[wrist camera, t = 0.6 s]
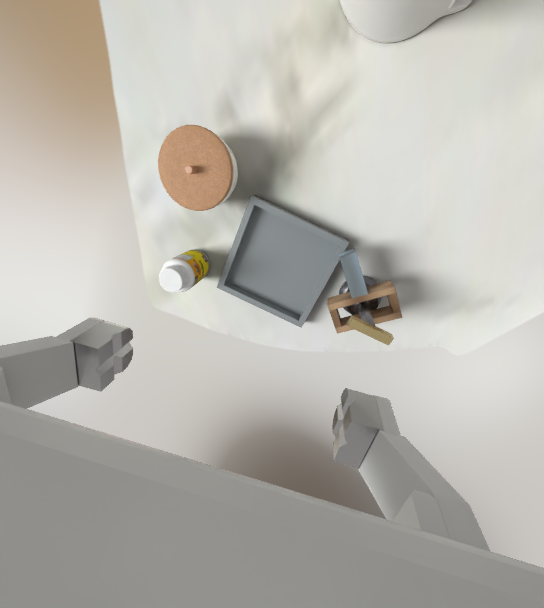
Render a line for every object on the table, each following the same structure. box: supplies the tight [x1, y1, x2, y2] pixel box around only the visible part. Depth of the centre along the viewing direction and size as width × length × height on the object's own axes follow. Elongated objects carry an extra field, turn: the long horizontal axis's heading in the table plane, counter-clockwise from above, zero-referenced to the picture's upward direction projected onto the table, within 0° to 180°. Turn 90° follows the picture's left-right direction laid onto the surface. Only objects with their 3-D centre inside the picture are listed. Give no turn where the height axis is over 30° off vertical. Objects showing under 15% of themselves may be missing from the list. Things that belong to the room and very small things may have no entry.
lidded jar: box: [158, 125, 238, 211], centre depth 41 cm, size 11×11×9 cm
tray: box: [217, 195, 349, 327], centre depth 49 cm, size 17×17×2 cm
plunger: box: [339, 276, 394, 345], centre depth 43 cm, size 7×7×14 cm
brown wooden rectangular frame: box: [327, 249, 402, 333], centre depth 44 cm, size 10×12×3 cm
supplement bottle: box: [159, 250, 210, 292], centre depth 48 cm, size 6×6×10 cm
